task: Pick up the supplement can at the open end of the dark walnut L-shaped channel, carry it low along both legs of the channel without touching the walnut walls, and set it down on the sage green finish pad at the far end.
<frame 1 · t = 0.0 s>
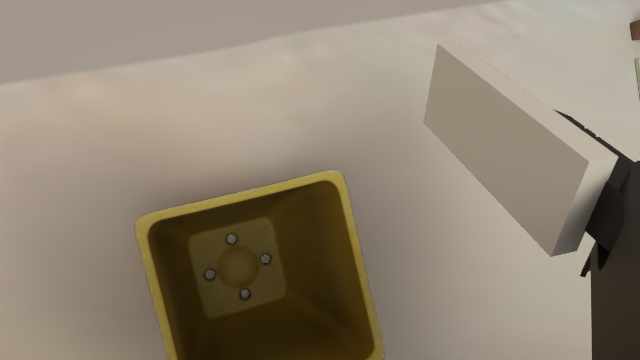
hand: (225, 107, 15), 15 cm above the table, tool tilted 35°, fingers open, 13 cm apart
flower pot: (239, 263, 30), on the table
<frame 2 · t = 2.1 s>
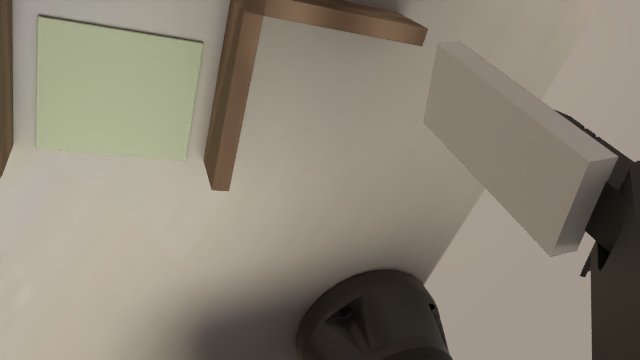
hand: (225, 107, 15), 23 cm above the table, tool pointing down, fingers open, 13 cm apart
finish pad: (119, 94, 36), on the table
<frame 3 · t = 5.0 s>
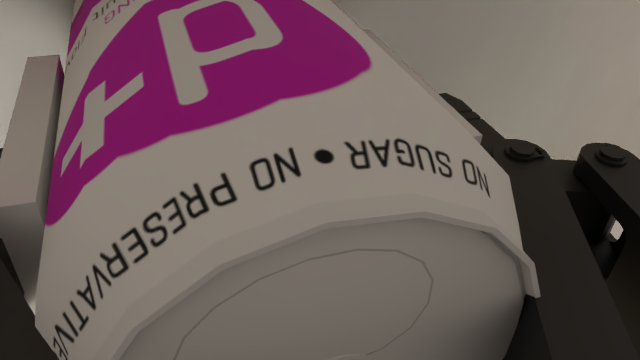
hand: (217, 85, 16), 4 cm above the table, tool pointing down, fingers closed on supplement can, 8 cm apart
supplement can: (196, 32, 19), on the table, touching gripper
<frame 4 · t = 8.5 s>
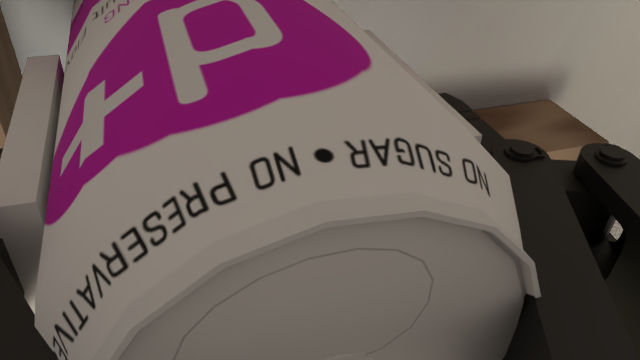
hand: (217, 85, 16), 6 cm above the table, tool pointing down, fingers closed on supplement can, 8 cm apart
channel walls: (328, 122, 26), on the table
supplement can: (196, 31, 19), point 2 cm above the table, touching gripper
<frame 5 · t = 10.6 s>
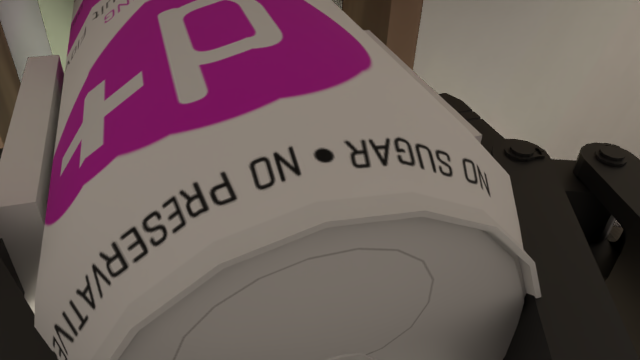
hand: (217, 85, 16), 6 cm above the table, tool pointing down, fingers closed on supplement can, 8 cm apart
finish pad: (192, 67, 22), on the table
supplement can: (196, 31, 19), point 2 cm above the table, touching gripper
when the fingers open (6 cm above the table, at t = 12.1 s): supplement can drops 1 cm, resting on finish pad.
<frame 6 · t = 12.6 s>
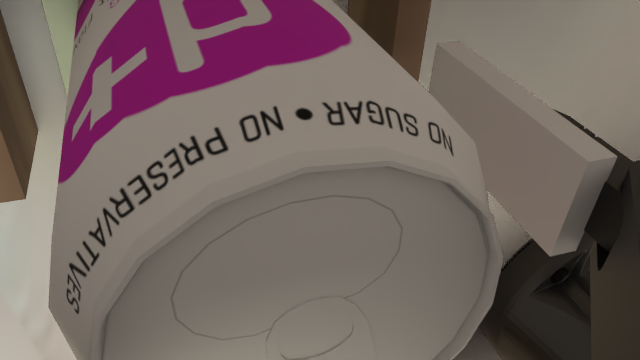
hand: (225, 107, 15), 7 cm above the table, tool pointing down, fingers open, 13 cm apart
finish pad: (191, 7, 20), on the table
supplement can: (195, 22, 20), resting on finish pad
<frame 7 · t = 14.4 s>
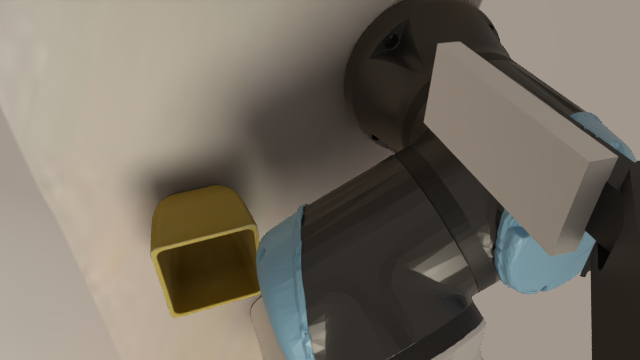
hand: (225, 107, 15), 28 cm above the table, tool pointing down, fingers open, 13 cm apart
spray bottle: (276, 305, 65), on the table
flower pot: (196, 206, 52), on the table
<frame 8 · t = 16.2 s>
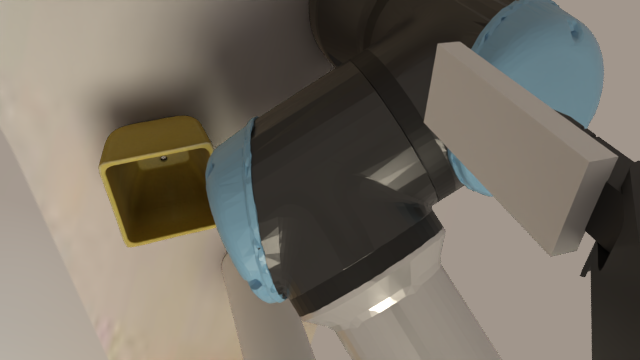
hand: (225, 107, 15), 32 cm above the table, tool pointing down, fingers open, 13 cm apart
spray bottle: (249, 260, 63), on the table
flower pot: (158, 140, 50), on the table
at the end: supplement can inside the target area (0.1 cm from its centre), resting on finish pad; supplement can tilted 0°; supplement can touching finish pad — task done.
